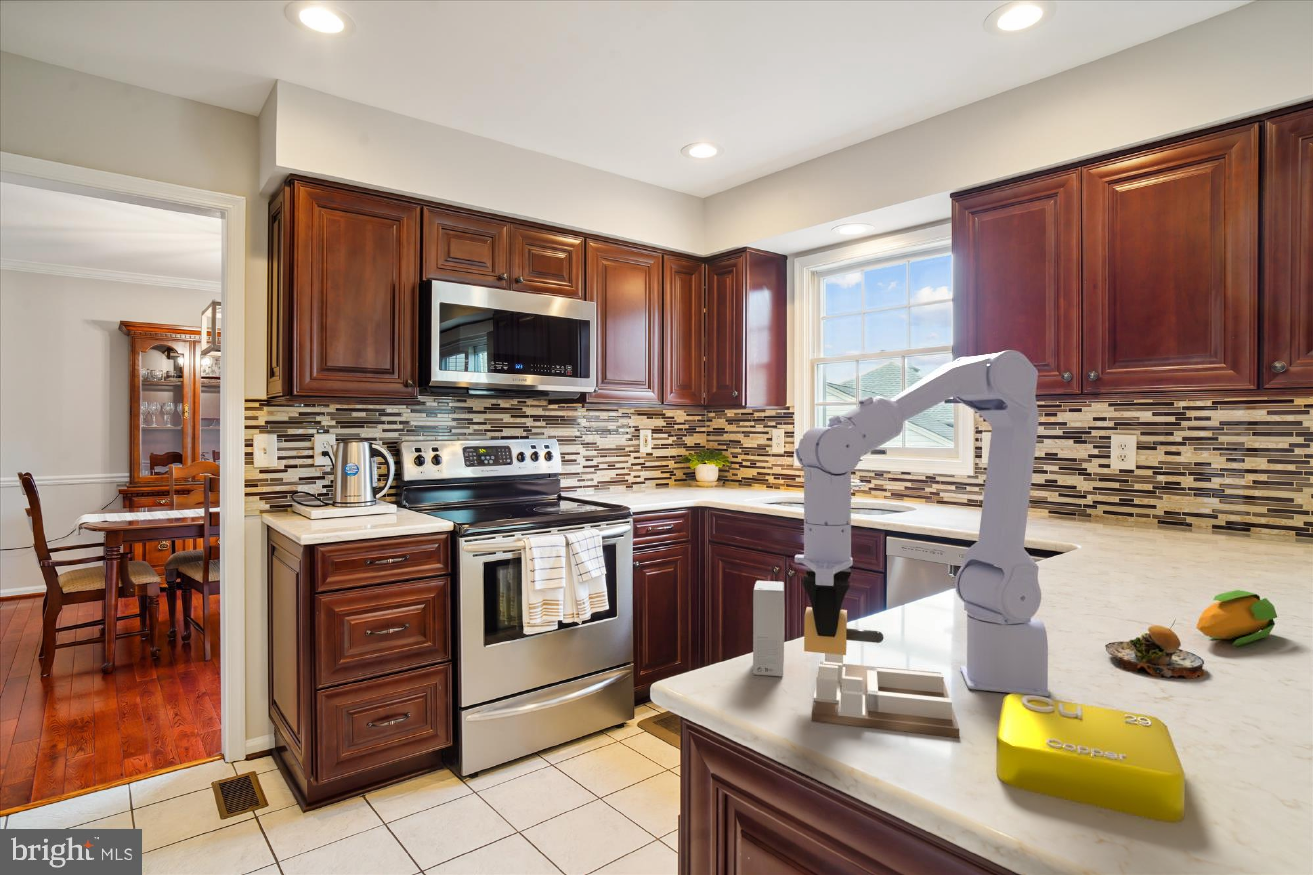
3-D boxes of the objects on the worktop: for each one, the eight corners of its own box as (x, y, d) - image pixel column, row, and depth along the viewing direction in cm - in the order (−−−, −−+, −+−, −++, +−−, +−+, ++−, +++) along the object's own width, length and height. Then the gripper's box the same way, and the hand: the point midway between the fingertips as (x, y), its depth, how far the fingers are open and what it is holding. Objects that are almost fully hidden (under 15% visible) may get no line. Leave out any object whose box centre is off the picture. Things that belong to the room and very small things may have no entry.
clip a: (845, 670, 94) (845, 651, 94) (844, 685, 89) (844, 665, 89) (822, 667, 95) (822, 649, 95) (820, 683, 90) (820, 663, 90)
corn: (1286, 588, 112) (1233, 605, 102) (1290, 635, 112) (1237, 657, 102) (1230, 583, 118) (1175, 598, 108) (1234, 627, 118) (1179, 647, 108)
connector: (882, 648, 86) (883, 612, 86) (883, 658, 83) (884, 621, 82) (806, 641, 89) (806, 606, 89) (804, 651, 85) (804, 615, 85)
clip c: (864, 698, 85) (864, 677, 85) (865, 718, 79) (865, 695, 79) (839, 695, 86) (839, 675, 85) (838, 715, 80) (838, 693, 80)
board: (941, 679, 93) (941, 672, 93) (959, 737, 76) (959, 728, 76) (820, 668, 98) (820, 661, 98) (811, 720, 81) (811, 712, 81)
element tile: (994, 785, 67) (994, 736, 66) (1004, 726, 80) (1004, 685, 79) (1188, 830, 59) (1189, 775, 59) (1164, 757, 72) (1164, 712, 72)
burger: (1147, 649, 106) (1148, 601, 106) (1227, 676, 95) (1228, 622, 95) (1084, 656, 104) (1084, 606, 103) (1158, 684, 92) (1158, 629, 92)
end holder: (942, 689, 87) (942, 673, 87) (951, 719, 78) (951, 702, 78) (866, 681, 90) (866, 666, 90) (867, 710, 81) (867, 693, 81)
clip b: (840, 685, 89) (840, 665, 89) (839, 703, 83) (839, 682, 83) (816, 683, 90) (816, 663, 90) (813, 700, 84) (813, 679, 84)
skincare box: (783, 677, 95) (783, 591, 94) (752, 675, 95) (752, 589, 95) (784, 662, 101) (784, 581, 100) (755, 660, 101) (755, 579, 101)
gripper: (799, 514, 94) (799, 612, 94) (789, 529, 80) (789, 645, 81) (853, 515, 92) (853, 616, 92) (851, 532, 78) (851, 650, 79)
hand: (827, 630), depth 86 cm, fingers closed on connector, 4 cm apart
